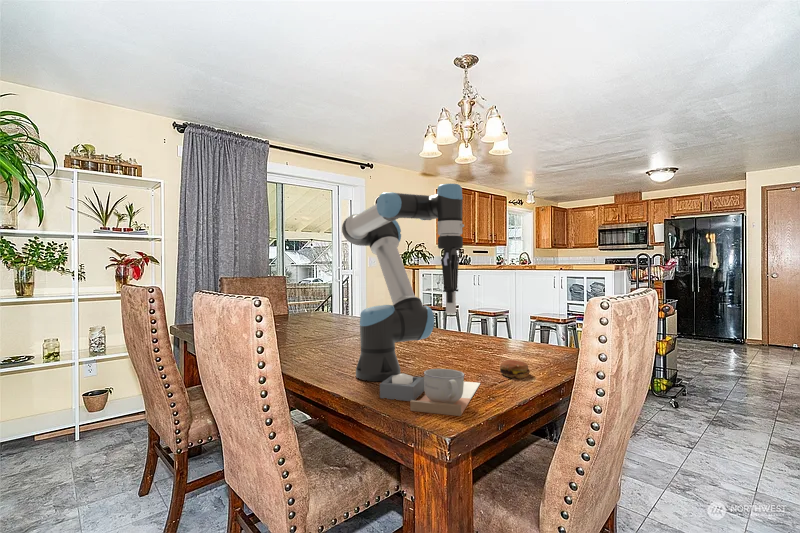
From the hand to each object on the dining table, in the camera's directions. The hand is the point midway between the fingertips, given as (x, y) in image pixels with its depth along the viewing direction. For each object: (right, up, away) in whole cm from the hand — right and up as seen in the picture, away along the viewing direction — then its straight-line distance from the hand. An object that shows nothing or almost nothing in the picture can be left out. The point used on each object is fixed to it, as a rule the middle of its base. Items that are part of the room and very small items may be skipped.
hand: (450, 313), depth 126 cm
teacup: (-3, -22, -16) cm, 28 cm away
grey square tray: (-15, -23, -7) cm, 28 cm away
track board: (-2, -22, -9) cm, 24 cm away
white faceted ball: (-15, -23, -7) cm, 28 cm away
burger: (+23, -22, +12) cm, 34 cm away
